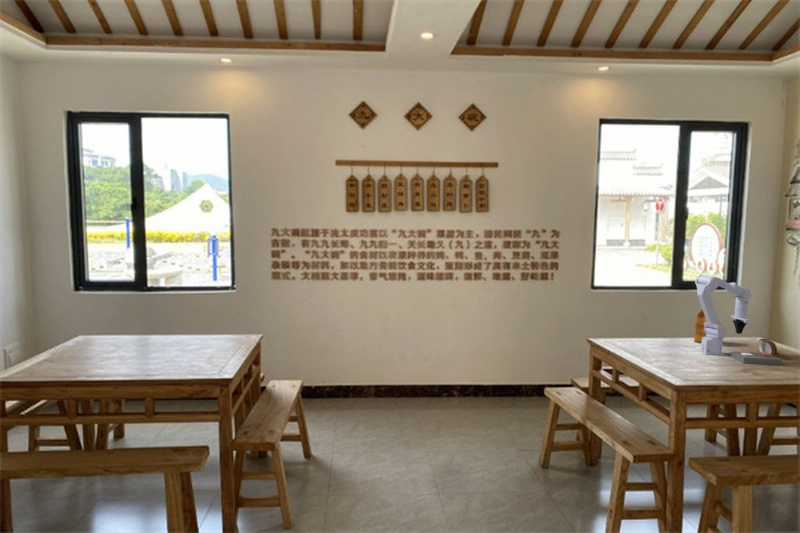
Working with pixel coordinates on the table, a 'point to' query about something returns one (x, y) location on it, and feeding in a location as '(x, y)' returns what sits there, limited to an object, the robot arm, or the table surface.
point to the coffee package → (700, 327)
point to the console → (756, 358)
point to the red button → (765, 354)
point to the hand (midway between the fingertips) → (738, 333)
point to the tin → (767, 346)
